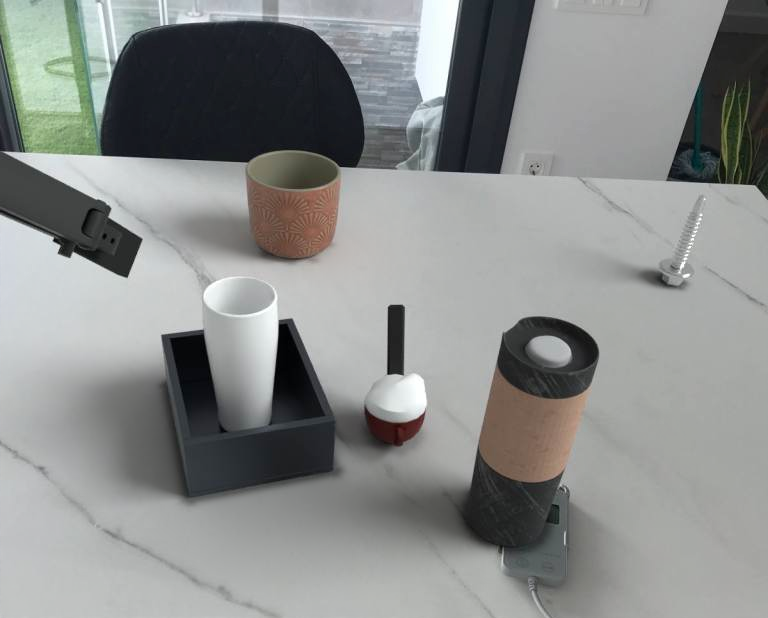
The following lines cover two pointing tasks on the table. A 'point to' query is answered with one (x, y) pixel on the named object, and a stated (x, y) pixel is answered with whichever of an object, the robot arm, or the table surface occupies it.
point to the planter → (293, 202)
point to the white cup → (241, 349)
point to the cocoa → (396, 390)
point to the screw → (683, 248)
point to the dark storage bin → (255, 445)
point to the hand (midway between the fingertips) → (46, 229)
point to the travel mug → (529, 427)
